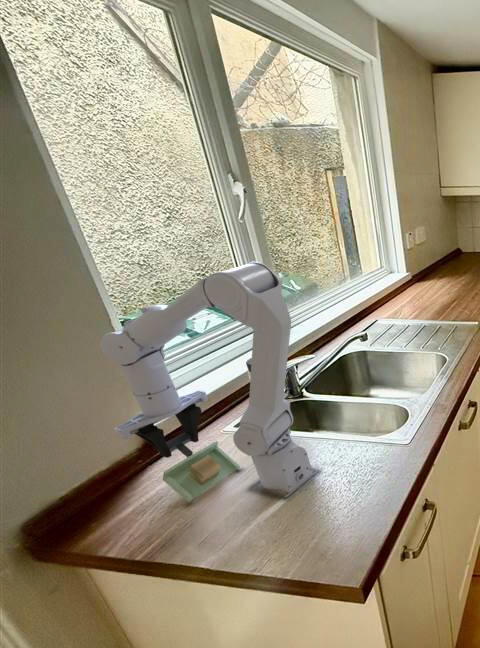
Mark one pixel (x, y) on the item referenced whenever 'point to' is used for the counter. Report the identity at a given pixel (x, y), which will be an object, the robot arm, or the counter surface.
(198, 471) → the block
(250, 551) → the counter surface
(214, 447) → the tray
